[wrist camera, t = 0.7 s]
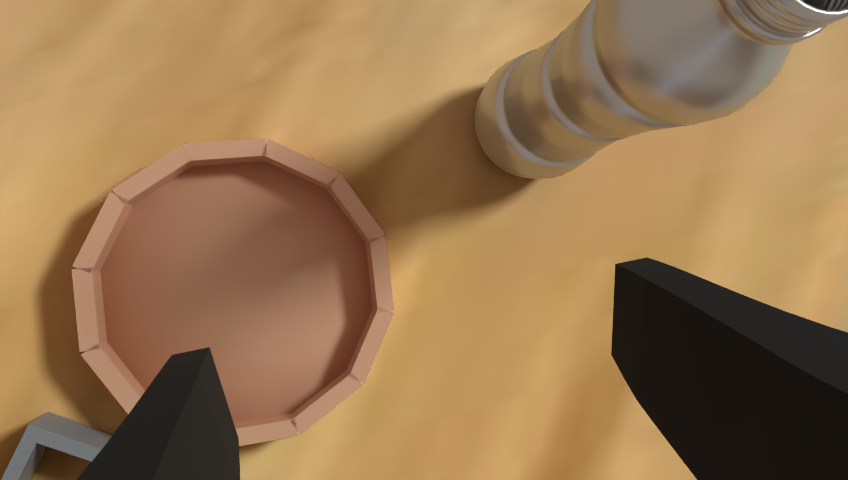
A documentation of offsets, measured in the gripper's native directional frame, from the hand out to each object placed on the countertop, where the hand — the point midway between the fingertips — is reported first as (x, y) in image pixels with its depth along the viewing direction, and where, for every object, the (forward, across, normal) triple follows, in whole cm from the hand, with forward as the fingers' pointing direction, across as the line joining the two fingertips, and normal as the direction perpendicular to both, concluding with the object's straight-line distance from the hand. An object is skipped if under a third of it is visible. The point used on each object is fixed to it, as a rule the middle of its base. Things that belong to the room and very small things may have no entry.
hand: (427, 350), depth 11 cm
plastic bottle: (+24, -10, +5) cm, 26 cm away
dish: (+19, +6, +9) cm, 22 cm away
